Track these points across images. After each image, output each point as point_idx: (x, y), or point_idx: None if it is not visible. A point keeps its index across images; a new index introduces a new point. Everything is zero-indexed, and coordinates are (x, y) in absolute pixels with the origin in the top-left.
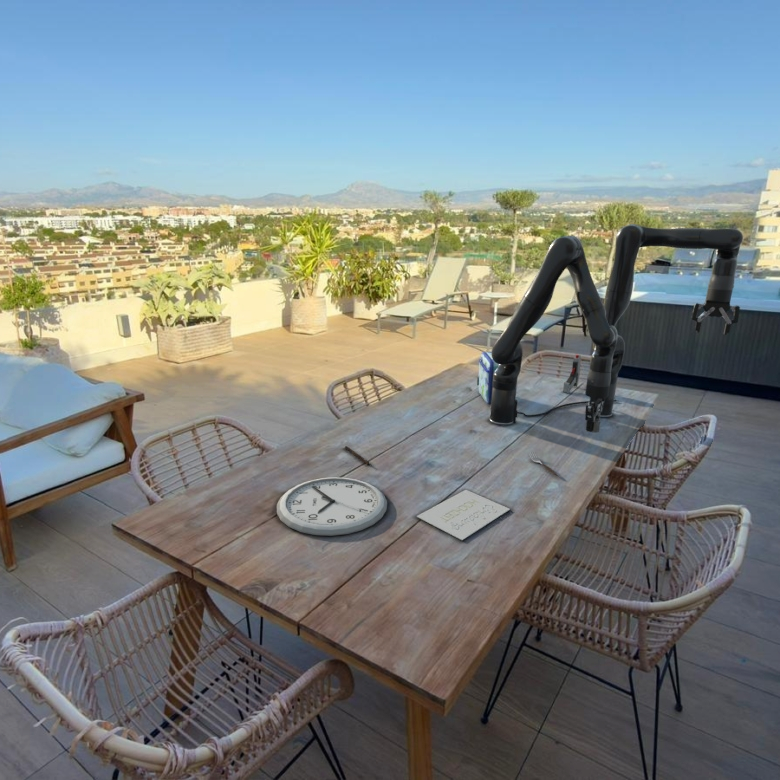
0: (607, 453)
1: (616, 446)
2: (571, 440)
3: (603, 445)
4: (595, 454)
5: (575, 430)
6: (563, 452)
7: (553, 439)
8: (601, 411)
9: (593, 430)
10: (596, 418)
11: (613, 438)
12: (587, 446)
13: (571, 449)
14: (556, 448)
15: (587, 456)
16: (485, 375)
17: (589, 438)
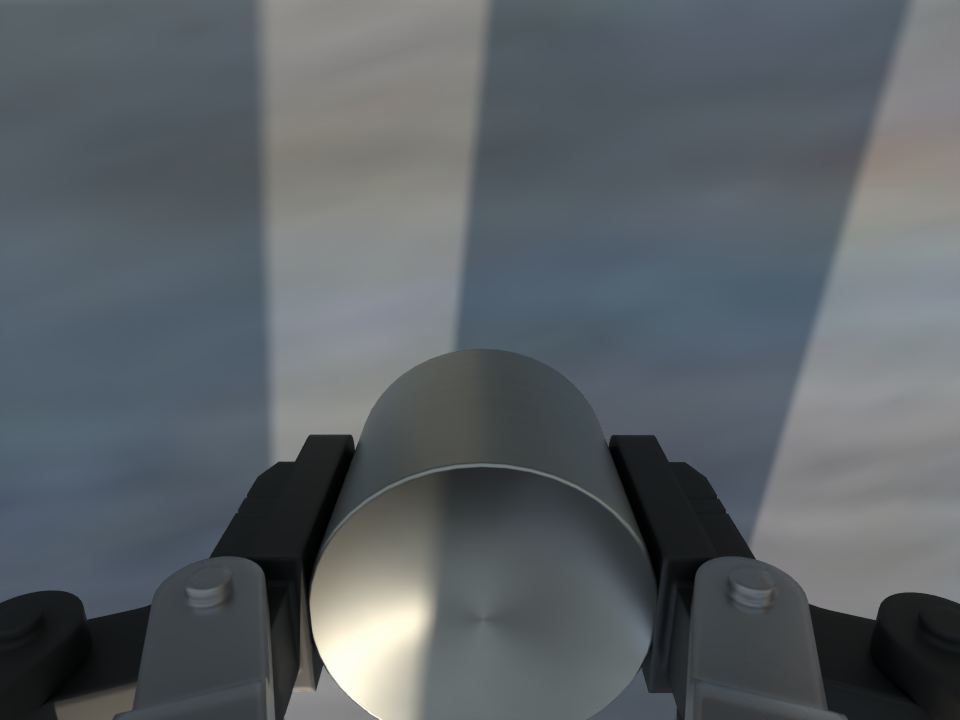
0: (672, 59)
1: (297, 27)
2: None
3: (399, 205)
4: (808, 193)
5: None
6: (944, 517)
7: (613, 703)
8: (19, 677)
9: (600, 433)
10: (347, 589)
11: (12, 168)
12: (582, 364)
13: (801, 479)
14: (861, 605)
15: (936, 258)
16: None
17: (286, 429)
